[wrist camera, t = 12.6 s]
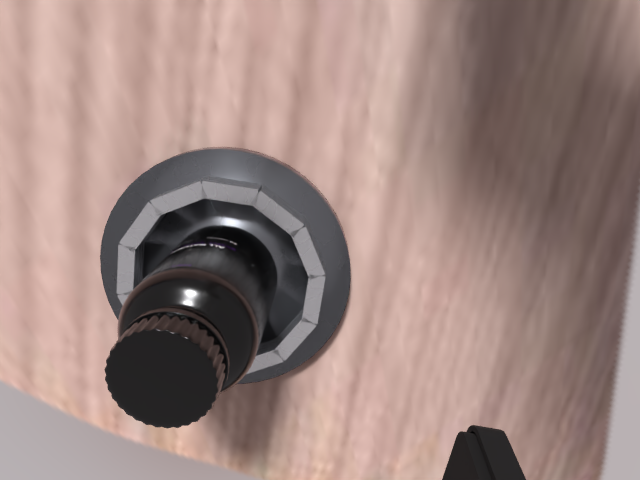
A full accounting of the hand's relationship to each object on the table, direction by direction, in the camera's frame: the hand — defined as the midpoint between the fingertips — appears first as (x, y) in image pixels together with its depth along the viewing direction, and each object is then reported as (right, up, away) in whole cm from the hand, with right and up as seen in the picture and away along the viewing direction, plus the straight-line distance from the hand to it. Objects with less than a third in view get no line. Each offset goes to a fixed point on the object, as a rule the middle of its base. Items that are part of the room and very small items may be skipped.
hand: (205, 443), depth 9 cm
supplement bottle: (-4, +2, +23) cm, 23 cm away
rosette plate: (-4, +2, +24) cm, 24 cm away
